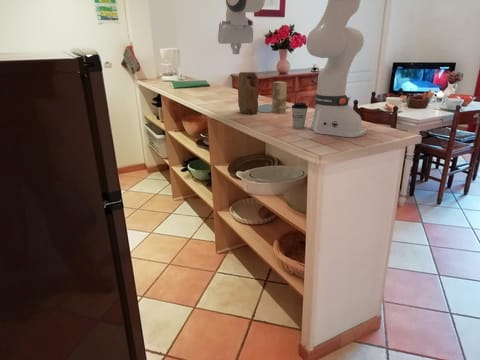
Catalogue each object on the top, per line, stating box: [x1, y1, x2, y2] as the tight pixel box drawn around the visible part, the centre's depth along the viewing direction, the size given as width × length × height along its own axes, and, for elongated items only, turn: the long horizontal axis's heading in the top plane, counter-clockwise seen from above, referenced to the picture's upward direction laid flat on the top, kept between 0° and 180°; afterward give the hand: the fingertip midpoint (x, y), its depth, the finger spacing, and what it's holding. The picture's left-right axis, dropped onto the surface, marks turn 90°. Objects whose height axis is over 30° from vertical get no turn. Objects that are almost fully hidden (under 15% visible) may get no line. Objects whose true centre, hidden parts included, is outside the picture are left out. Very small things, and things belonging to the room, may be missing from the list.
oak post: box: [271, 80, 288, 114], centre depth 175 cm, size 5×5×15 cm
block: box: [237, 71, 260, 115], centre depth 173 cm, size 11×8×20 cm
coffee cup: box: [291, 102, 309, 129], centre depth 145 cm, size 7×7×10 cm
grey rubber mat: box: [257, 103, 291, 114], centre depth 187 cm, size 16×20×1 cm
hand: (236, 54), depth 160 cm, fingers closed
